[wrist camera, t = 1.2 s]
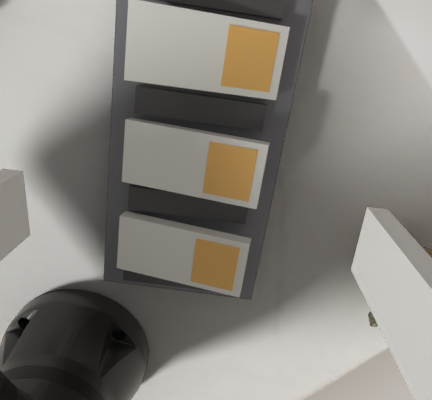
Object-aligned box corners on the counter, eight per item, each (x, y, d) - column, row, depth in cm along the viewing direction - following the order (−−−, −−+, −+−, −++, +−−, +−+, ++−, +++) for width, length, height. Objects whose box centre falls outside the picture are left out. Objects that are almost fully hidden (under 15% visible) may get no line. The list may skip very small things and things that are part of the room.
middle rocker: (257, 204, 30) (256, 209, 29) (127, 177, 31) (121, 181, 30) (269, 142, 28) (268, 145, 27) (131, 117, 30) (124, 119, 29)
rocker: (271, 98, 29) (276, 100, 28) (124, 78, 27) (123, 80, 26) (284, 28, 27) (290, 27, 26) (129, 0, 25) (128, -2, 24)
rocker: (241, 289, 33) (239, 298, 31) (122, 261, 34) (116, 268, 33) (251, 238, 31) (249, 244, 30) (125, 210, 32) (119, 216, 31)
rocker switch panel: (248, 282, 39) (251, 305, 35) (112, 264, 38) (100, 286, 34) (305, 0, 30) (317, -9, 26) (128, -28, 29) (114, -41, 26)
